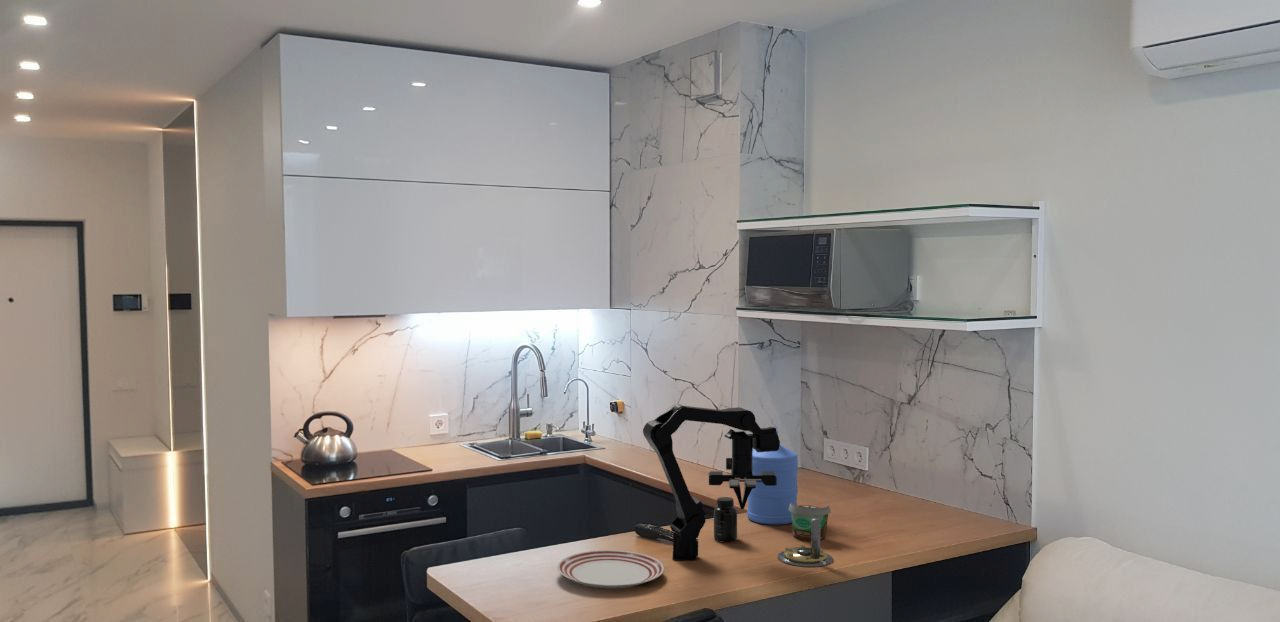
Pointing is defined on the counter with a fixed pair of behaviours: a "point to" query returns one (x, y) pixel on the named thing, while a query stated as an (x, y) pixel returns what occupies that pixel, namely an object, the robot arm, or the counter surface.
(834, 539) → the counter surface
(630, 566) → the dinner plate
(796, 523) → the food container
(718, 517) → the supplement bottle
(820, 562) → the flange
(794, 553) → the rod on round base
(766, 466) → the water jug
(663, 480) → the counter surface
